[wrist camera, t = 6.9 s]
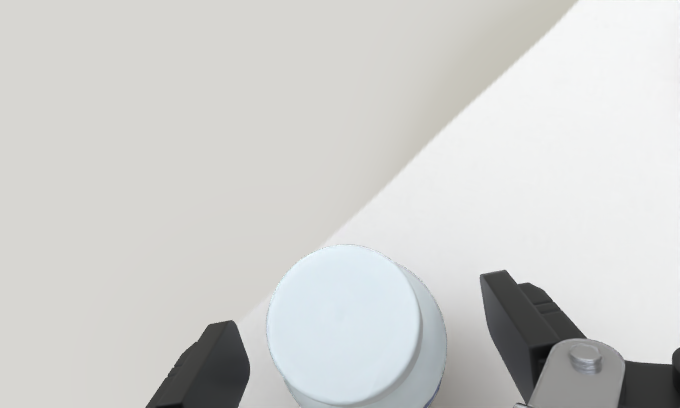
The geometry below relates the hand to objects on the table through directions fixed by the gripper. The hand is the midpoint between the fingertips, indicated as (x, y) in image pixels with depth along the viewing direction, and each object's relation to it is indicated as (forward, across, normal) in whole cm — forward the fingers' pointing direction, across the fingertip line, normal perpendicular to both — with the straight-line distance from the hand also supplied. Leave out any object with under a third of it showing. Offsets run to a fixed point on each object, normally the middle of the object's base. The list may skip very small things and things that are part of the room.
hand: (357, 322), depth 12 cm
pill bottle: (+5, 0, +5) cm, 7 cm away
